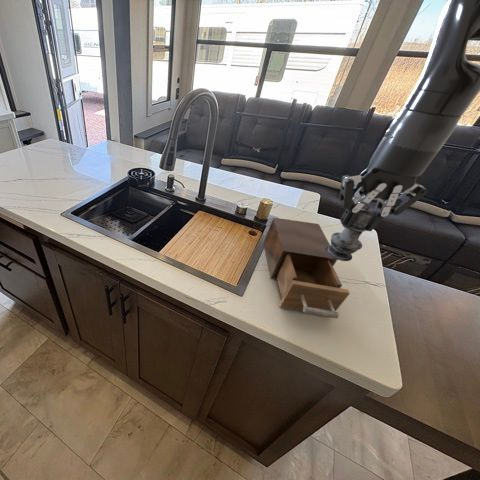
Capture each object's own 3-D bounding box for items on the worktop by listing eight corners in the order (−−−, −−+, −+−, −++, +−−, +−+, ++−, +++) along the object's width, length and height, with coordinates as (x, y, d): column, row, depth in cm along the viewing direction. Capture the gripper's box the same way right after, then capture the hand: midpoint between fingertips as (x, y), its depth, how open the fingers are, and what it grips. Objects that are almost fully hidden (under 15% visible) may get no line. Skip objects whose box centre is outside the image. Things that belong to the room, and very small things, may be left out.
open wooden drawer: (338, 333, 59) (359, 310, 54) (283, 323, 61) (298, 300, 55) (314, 272, 75) (328, 250, 70) (271, 265, 77) (281, 243, 71)
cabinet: (319, 286, 72) (337, 259, 65) (270, 278, 74) (283, 250, 67) (304, 249, 85) (318, 223, 78) (263, 243, 87) (273, 217, 80)
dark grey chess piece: (352, 266, 53) (387, 218, 46) (322, 254, 56) (350, 207, 48) (354, 251, 57) (386, 205, 50) (325, 241, 60) (352, 196, 52)
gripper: (375, 143, 39) (324, 232, 50) (478, 154, 38) (403, 244, 48) (355, 130, 45) (314, 212, 56) (444, 139, 43) (383, 222, 54)
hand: (355, 226), depth 52 cm, fingers closed on dark grey chess piece, 3 cm apart
